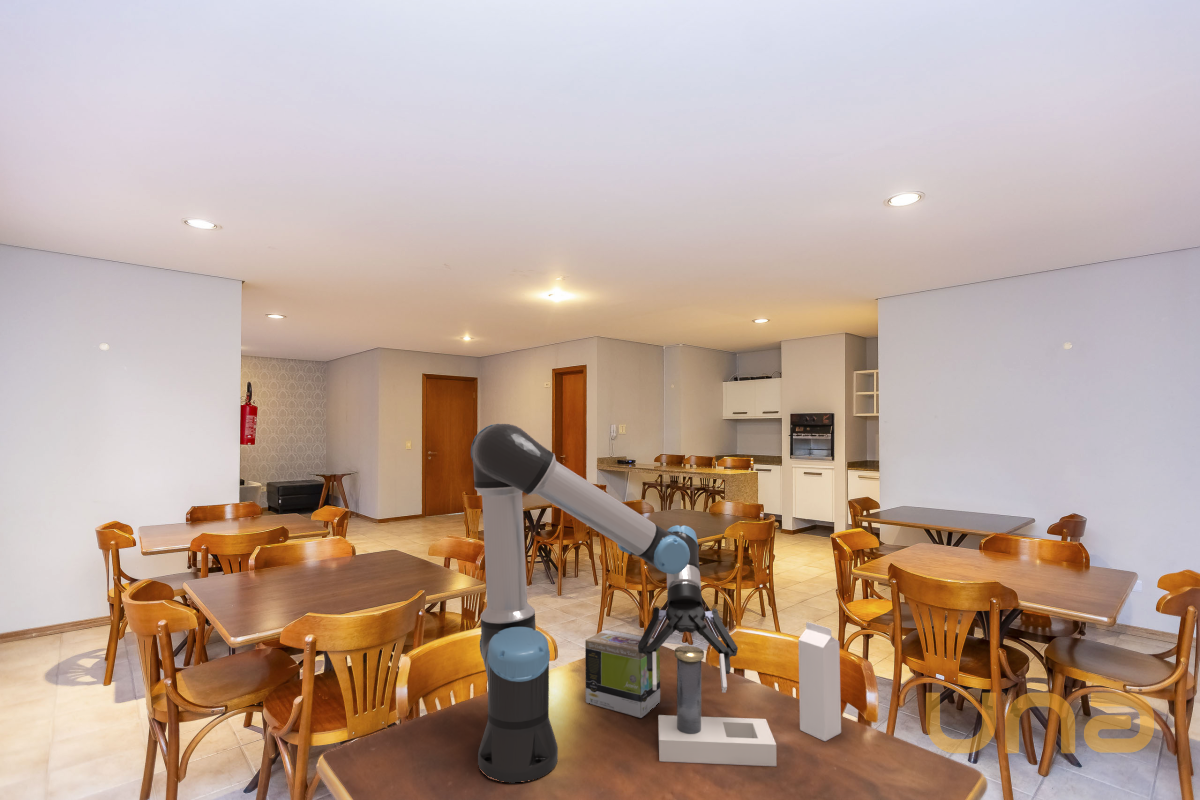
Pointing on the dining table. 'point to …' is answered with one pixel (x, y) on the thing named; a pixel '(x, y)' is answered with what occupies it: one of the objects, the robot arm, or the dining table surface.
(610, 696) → the tea box
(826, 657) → the milk
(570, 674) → the dining table surface
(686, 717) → the grey capped cylinder
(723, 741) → the housing block
